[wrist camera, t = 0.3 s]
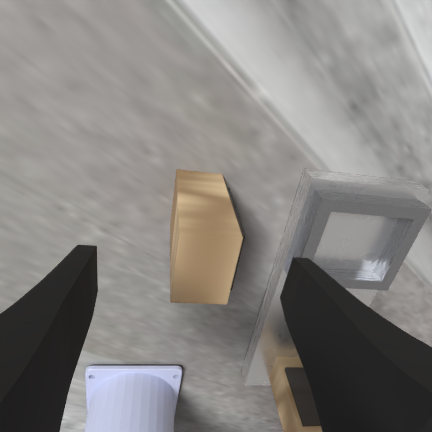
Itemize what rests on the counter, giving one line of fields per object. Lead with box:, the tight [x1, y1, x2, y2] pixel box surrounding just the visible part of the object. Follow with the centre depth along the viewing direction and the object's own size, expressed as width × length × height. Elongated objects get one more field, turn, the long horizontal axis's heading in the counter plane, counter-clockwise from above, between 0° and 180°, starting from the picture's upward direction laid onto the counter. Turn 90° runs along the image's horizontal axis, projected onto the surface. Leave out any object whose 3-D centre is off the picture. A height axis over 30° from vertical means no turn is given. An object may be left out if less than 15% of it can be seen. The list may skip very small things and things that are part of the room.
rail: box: [241, 168, 431, 386], centre depth 26 cm, size 20×8×3 cm, turn 171°
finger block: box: [170, 170, 245, 304], centre depth 19 cm, size 3×4×7 cm
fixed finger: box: [269, 357, 322, 432], centre depth 27 cm, size 3×4×6 cm
